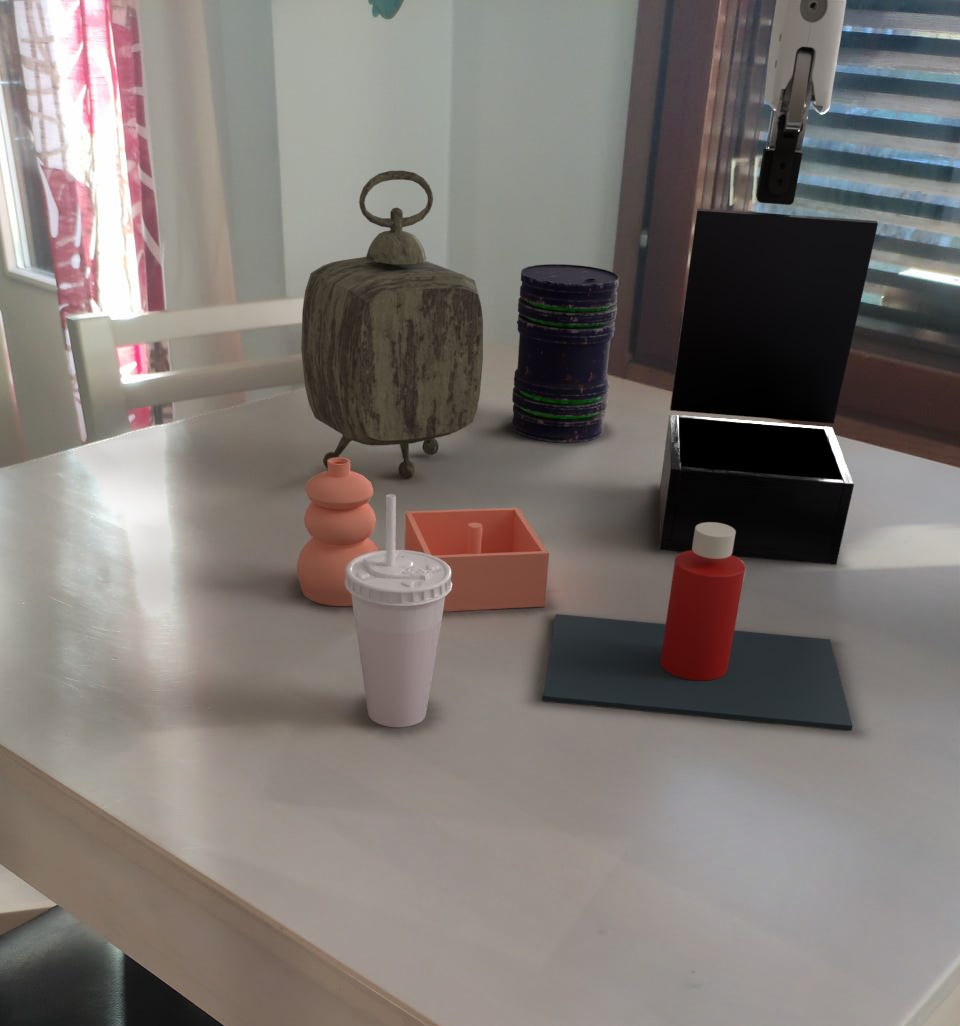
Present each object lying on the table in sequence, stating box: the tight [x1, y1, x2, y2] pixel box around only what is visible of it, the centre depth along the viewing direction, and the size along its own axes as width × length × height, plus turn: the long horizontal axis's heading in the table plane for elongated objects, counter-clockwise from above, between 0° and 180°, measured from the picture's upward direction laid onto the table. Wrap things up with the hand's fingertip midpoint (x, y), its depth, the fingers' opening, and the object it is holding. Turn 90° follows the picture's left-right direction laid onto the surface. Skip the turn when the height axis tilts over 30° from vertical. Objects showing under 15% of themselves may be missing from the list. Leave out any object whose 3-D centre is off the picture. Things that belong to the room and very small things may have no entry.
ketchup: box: [660, 522, 746, 681], centre depth 84 cm, size 5×5×10 cm
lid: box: [669, 208, 879, 425], centre depth 108 cm, size 16×15×1 cm
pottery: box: [296, 456, 550, 612], centre depth 94 cm, size 18×10×10 cm, turn 102°
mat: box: [541, 613, 853, 732], centre depth 87 cm, size 20×13×1 cm, turn 83°
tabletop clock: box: [300, 169, 484, 480], centre depth 111 cm, size 14×9×25 cm, turn 122°
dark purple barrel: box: [511, 263, 620, 443], centre depth 128 cm, size 10×10×15 cm
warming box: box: [659, 413, 855, 565], centre depth 109 cm, size 16×15×7 cm
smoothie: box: [345, 493, 452, 728], centre depth 76 cm, size 6×6×14 cm
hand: (774, 201), depth 111 cm, fingers closed
